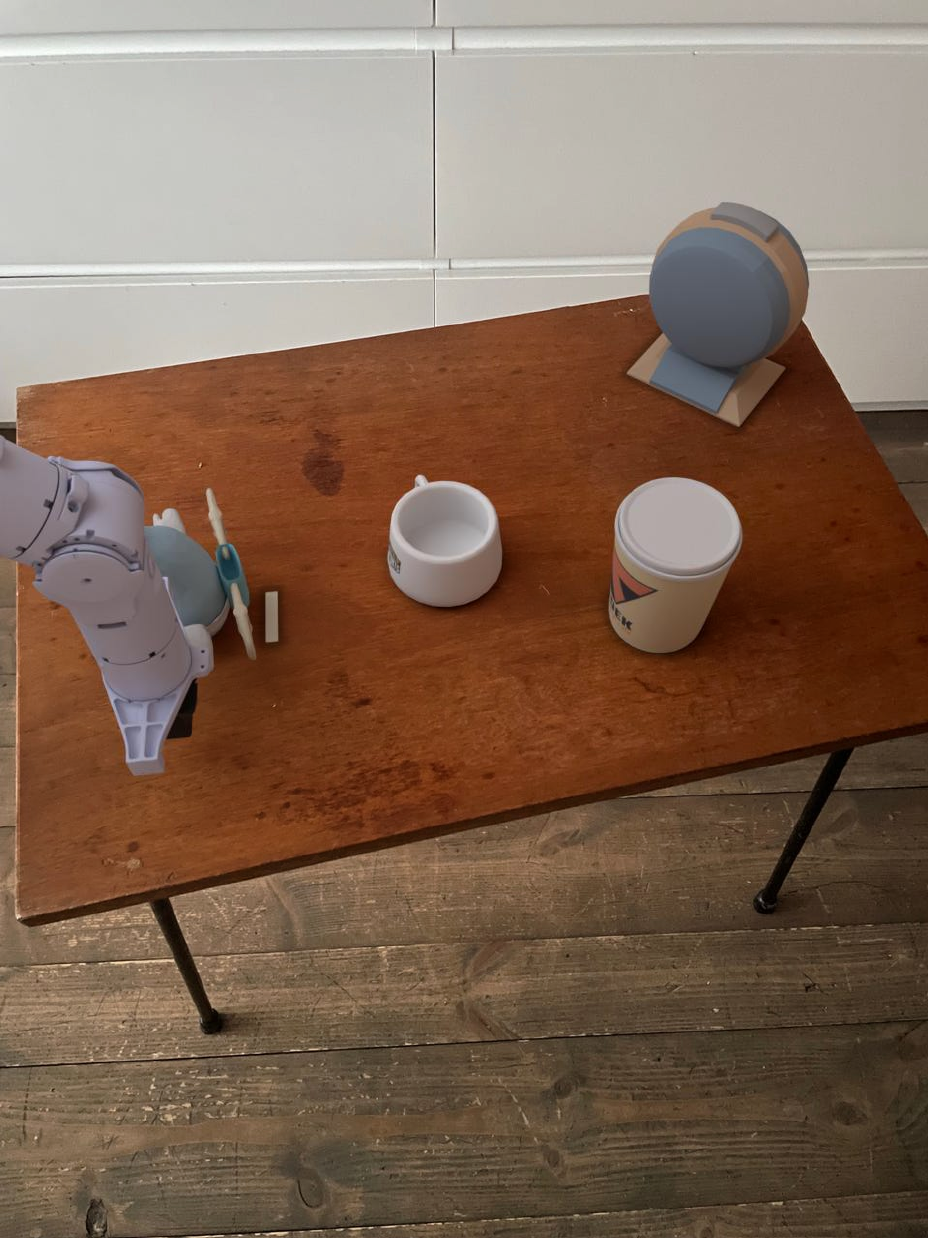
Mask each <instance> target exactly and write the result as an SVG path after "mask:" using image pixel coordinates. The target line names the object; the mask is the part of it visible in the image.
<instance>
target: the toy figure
mask: <svg viewBox="0 0 928 1238" xmlns="http://www.w3.org/2000/svg"><path fill="white" fill-rule="evenodd" d="M205 496H206V500H207V506H208V510H209V511H208V518H209V520H210V523H211V527H212V530H213V535H214V537H215V538H216V539H217V542H218V545H217V547H216V549H215V560H216V562H215V561H214V560H213V558H212V557H211V556H210V554H209V553H208V552H207V551H206V549H205V548H204V547H203V545H201V544H200V543H198V542H197V541H195V540H194V538H192V537H191V536H189V535H187V530H186V526H185V525H184V522H183V520H182V519H181V516H180V513H179V512H178V511H177V509H175V508H172V507H169V508H166V509H164V510H163V512H162V514H161V517H160V515H159V514H157V513H154V514H153V515H152V523H153V525H144V535H145V537H146V539H147V542H148V545H149V547H150V550H151V552H152V555H153V558H154V560H155V562H156V564H157V565H158V567H159V570H160V572H161V575H162V577H168V578H169V580H170V583H171V586H172V588H173V591H174V601H173V603H174V605H175V607H176V610H177V612H178V615H179V617H180V619H181V622H182V624H183V627H184V629H185V631H186V634H187V636H188V638H189V641H190V643H191V645H192V646H194V647H206V648H207V649H208V650H209V653H210V656H211V660H210V672H209V674H210V673H211V672H212V671H213V670H214V668H215V662H214V646H213V640H212V637H213V636H215V635H216V634H217V633H218V632H219V631H220V630H221V629H222V628H223V626H224V624H225V622H226V620H227V618H228V614H229V611H230V608H231V609H232V610H233V611H232V613H233V616H234V617H235V621H236V625H237V629H238V630H237V631H238V633H239V634H240V635H241V636H242V639H243V642H244V646H245V650H246V654H247V657H248V658H249V659H250V660H252V661H256V659H257V652H256V646H255V644H254V643H255V642H254V639H253V625H252V624H251V621H250V616H249V613H248V611H249V610H248V607H249V605H250V591H249V588H248V584H247V583H248V582H247V581H246V579H247V578H246V577H245V576H246V575H245V572H244V567H243V565H242V562H241V558H240V556H239V554H238V552H237V550H236V548H235V545H233V544H231V543H230V542H228V539H227V534H228V531H227V529H226V525H225V521H224V519H223V512H222V511H221V510H220V508H219V507H218V503H217V501H216V497H215V494H214V491H213V489H212V488H211V487H208V488H207V489H206V492H205Z"/></svg>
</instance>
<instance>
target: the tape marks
mask: <svg viewBox="0 0 928 1238" xmlns="http://www.w3.org/2000/svg"><path fill="white" fill-rule="evenodd" d="M278 594H279V591H267V592H266V591H265V643H266V644H269V643H278V642H279V595H278Z"/></svg>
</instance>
